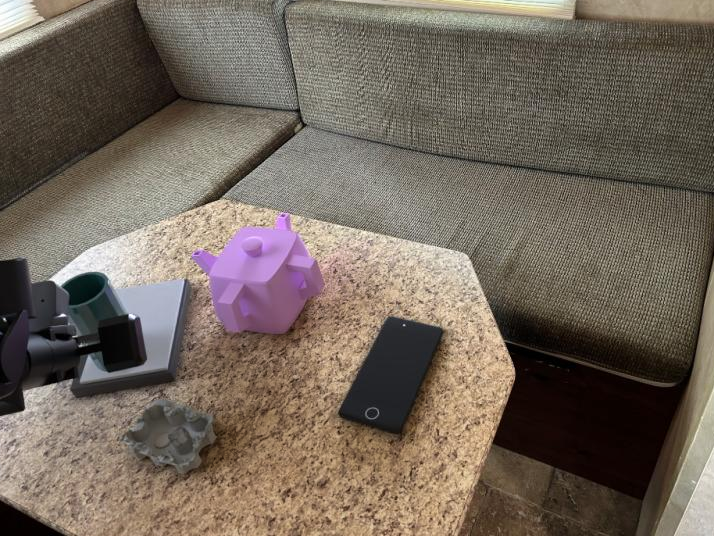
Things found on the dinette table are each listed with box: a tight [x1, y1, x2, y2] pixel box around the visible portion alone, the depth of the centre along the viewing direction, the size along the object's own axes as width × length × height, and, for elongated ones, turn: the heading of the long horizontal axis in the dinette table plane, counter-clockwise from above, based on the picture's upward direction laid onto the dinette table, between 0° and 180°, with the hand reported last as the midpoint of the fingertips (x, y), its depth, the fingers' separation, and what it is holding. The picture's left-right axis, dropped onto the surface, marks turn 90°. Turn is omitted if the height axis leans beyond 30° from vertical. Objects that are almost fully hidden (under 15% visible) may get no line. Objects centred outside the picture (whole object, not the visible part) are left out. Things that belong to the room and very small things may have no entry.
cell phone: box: [337, 315, 444, 435], centre depth 84 cm, size 9×18×1 cm, turn 159°
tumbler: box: [59, 271, 128, 372], centre depth 84 cm, size 7×7×13 cm
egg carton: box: [116, 398, 217, 475], centre depth 77 cm, size 11×8×4 cm
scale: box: [69, 278, 192, 398], centre depth 93 cm, size 14×20×3 cm
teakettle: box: [190, 212, 326, 335], centre depth 94 cm, size 17×17×12 cm
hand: (88, 351), depth 78 cm, fingers open, 9 cm apart
